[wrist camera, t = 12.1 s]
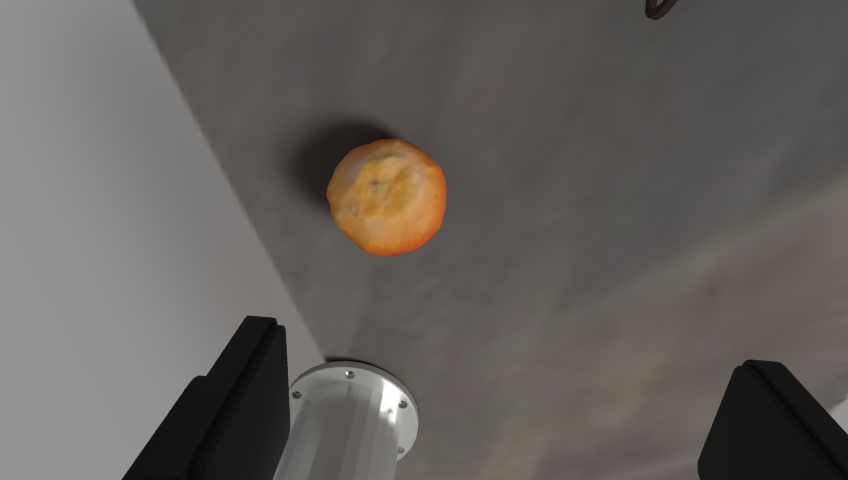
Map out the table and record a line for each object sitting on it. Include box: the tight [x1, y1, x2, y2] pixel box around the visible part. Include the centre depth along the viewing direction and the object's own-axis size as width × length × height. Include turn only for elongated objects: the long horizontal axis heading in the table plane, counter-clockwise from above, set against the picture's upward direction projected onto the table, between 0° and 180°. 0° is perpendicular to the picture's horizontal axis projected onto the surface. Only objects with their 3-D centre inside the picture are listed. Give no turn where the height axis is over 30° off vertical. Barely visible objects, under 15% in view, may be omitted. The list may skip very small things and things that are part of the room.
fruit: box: [327, 139, 446, 256], centre depth 36 cm, size 8×8×8 cm
